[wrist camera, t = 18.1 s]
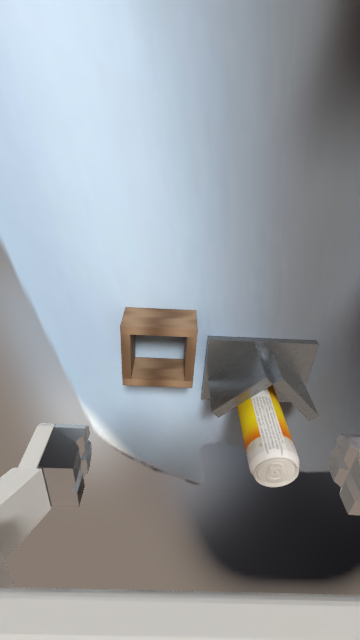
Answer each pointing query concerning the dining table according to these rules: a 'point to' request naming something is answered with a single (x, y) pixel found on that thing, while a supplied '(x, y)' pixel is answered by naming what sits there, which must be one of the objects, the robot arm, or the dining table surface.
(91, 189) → the dining table surface
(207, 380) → the V-block
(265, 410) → the beer can
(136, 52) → the dining table surface
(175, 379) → the walnut sleeve
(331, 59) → the dining table surface
